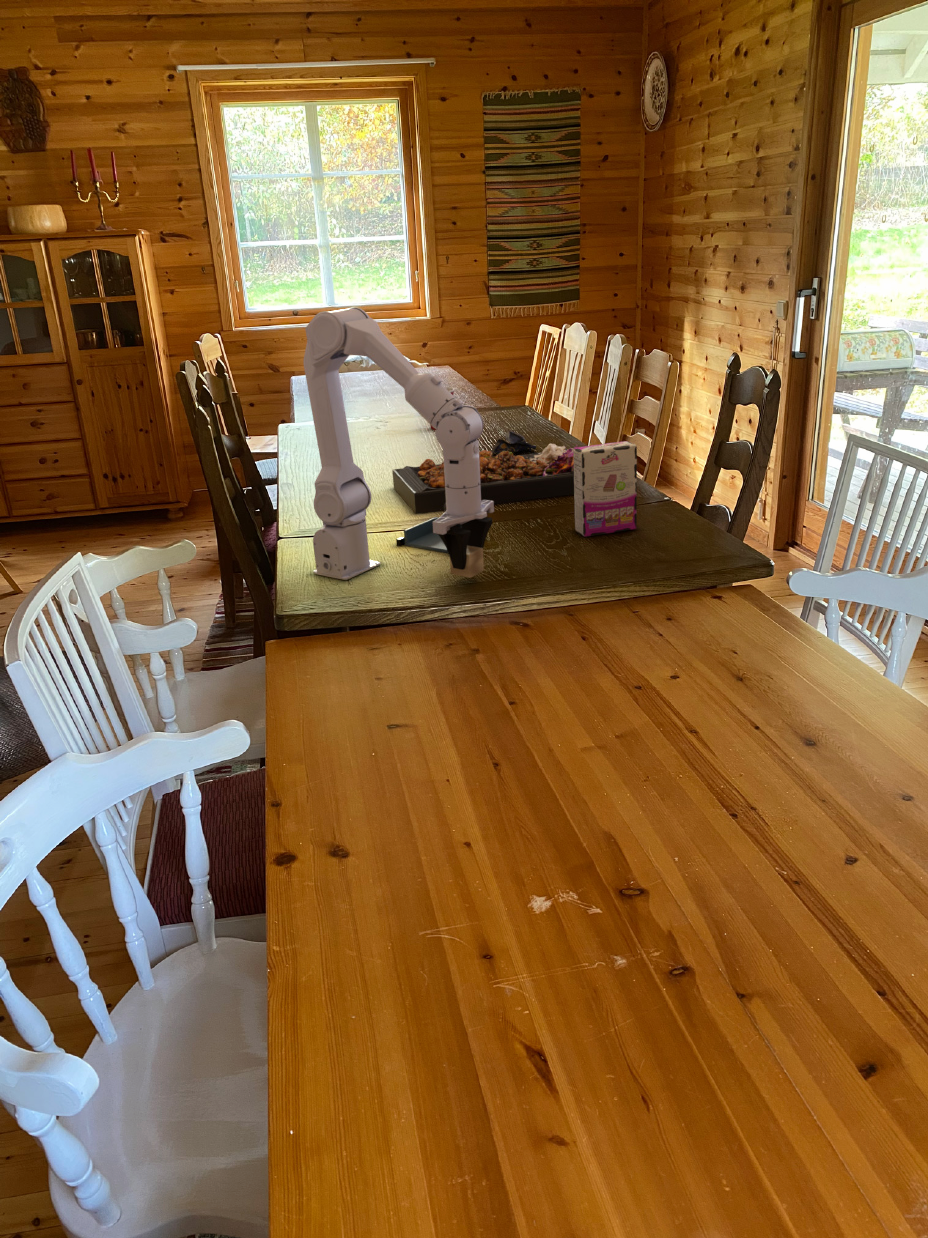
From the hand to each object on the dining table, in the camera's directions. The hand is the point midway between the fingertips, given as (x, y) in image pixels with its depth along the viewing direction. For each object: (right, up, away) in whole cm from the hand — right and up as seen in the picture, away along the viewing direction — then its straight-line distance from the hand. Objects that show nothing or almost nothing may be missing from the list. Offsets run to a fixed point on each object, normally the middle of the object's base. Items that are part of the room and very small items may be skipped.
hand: (466, 564), depth 152 cm
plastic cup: (-8, +50, +133) cm, 142 cm away
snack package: (+13, +36, +95) cm, 102 cm away
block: (0, -1, +1) cm, 1 cm away
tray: (-4, +6, +22) cm, 23 cm away
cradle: (-7, +4, +19) cm, 20 cm away
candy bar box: (+27, +8, +24) cm, 37 cm away
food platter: (+8, +21, +58) cm, 62 cm away
